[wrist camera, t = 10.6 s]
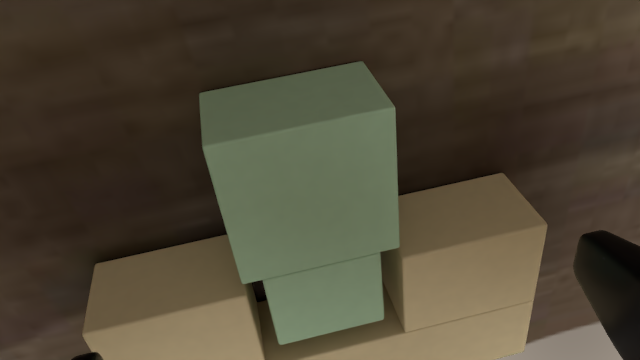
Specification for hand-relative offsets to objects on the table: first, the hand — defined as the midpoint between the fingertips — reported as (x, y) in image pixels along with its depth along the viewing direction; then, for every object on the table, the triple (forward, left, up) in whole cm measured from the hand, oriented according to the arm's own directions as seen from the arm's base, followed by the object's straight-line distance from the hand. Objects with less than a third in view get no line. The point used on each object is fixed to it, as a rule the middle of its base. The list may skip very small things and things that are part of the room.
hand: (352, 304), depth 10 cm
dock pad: (+3, -4, -5) cm, 7 cm away
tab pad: (+1, -1, -5) cm, 6 cm away
